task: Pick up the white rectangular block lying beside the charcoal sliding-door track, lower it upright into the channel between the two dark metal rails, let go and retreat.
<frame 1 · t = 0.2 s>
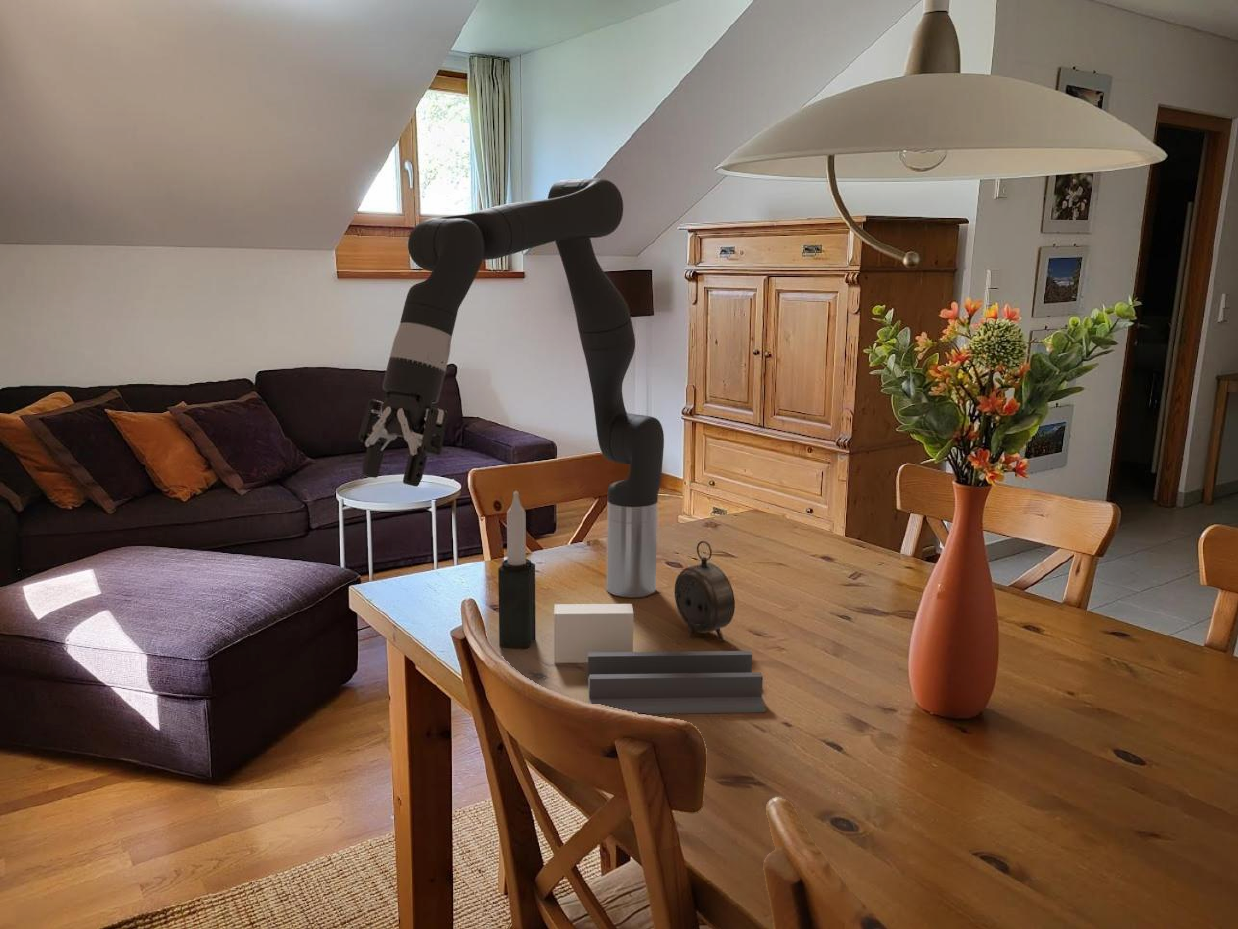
hand: (389, 480, 122), 31 cm above the table, tool tilted 20°, fingers open, 8 cm apart
door track: (672, 690, 132), on the table
alarm clock: (700, 636, 152), on the table
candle: (517, 643, 148), on the table
white rectangular block: (593, 657, 143), on the table
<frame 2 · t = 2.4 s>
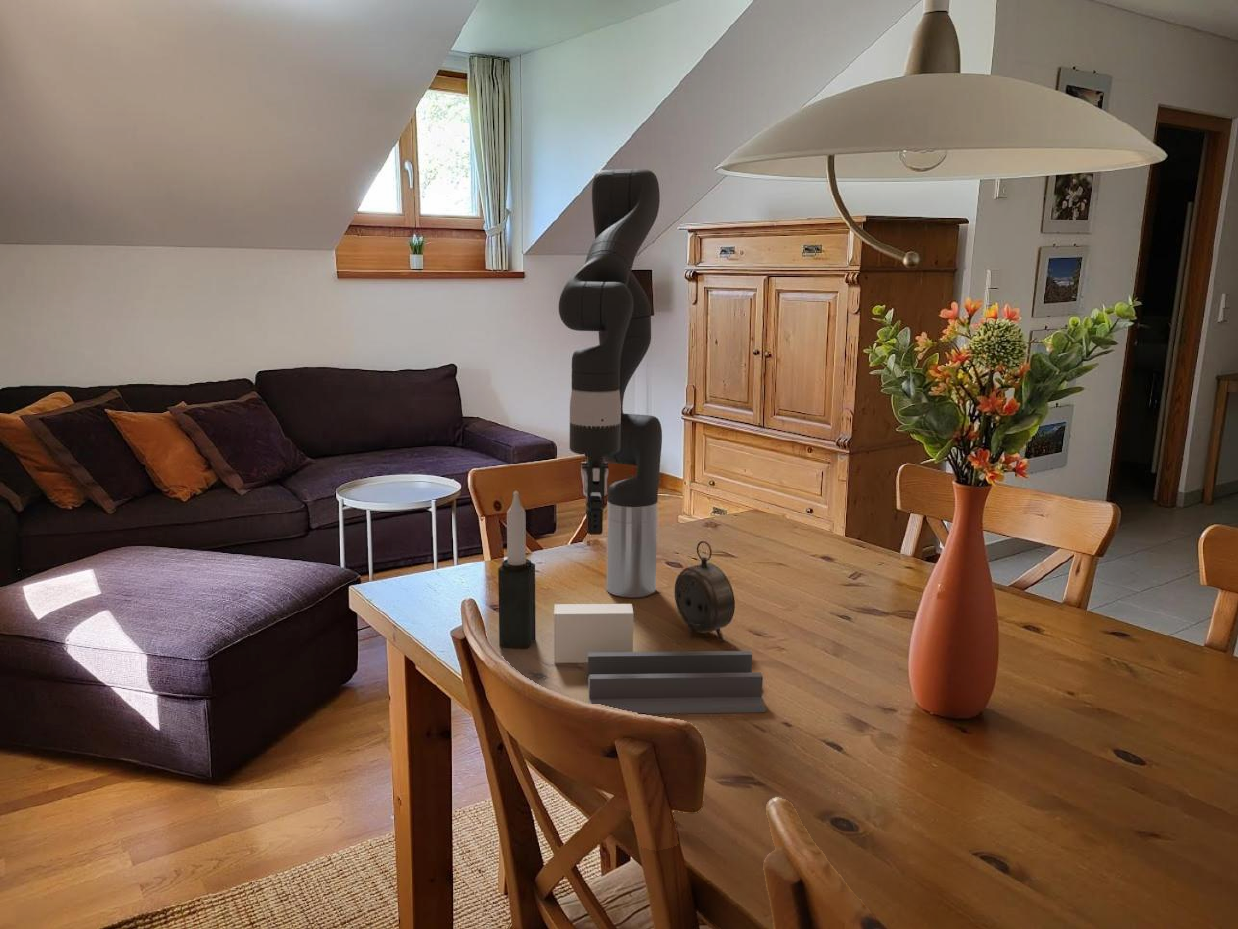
hand: (594, 526, 139), 21 cm above the table, tool pointing down, fingers open, 8 cm apart
nothing on the table moved.
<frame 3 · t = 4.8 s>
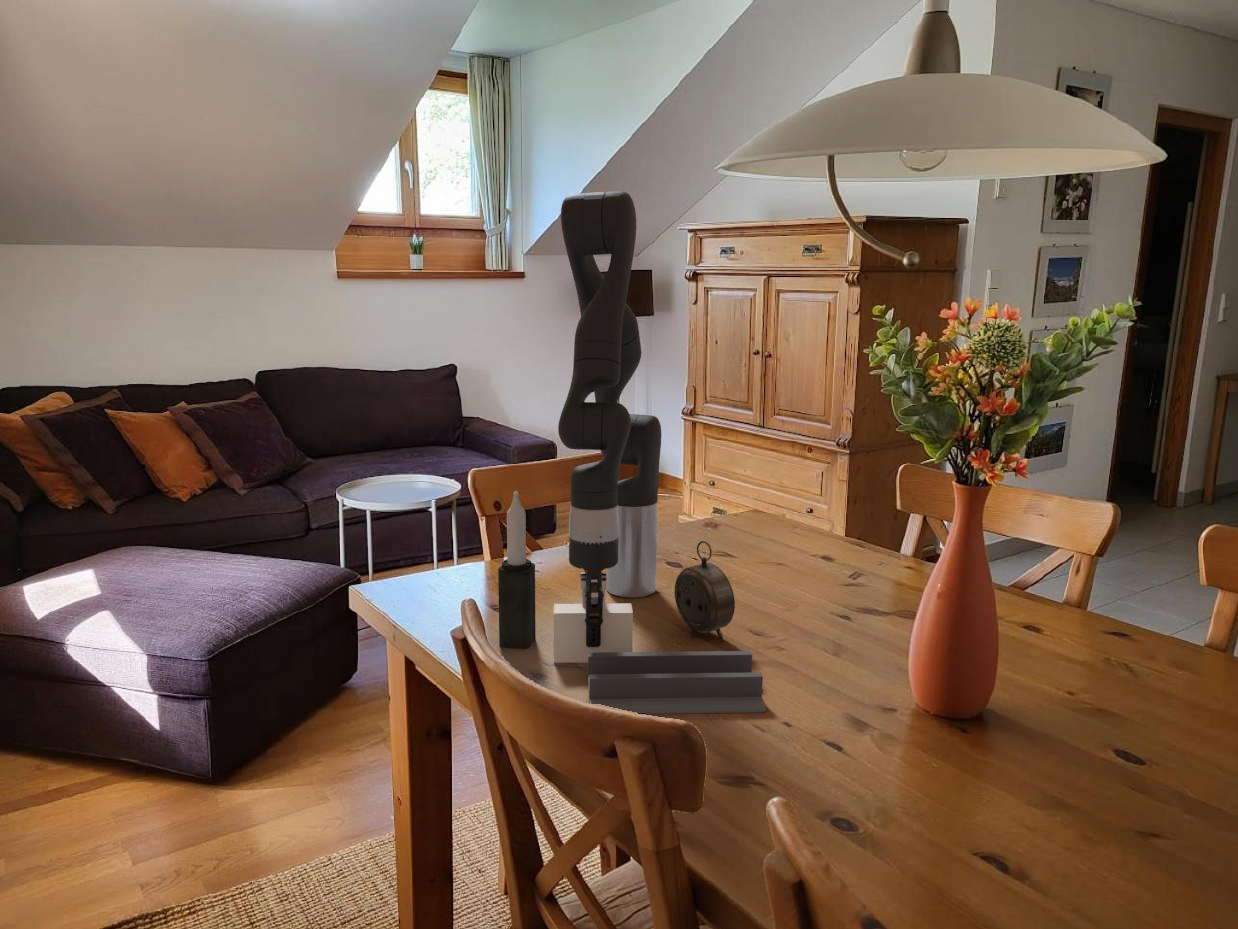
hand: (592, 639, 142), 3 cm above the table, tool pointing down, fingers closed on white rectangular block, 4 cm apart
white rectangular block: (592, 657, 143), on the table, touching gripper
everything else where it was.
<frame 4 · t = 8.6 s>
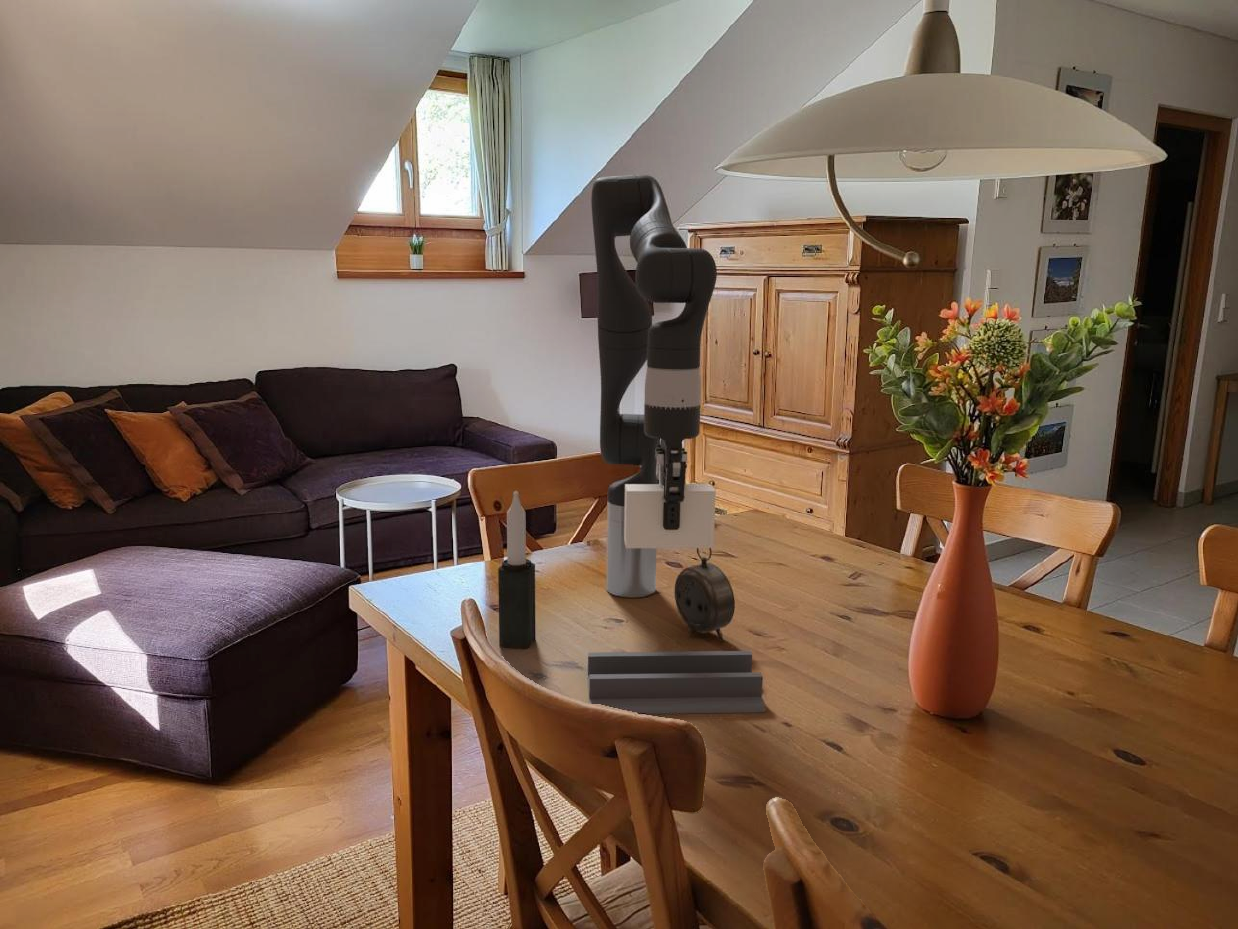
hand: (669, 523, 127), 25 cm above the table, tool pointing down, fingers closed on white rectangular block, 4 cm apart
white rectangular block: (668, 543, 127), point 22 cm above the table, touching gripper
everything else where it was.
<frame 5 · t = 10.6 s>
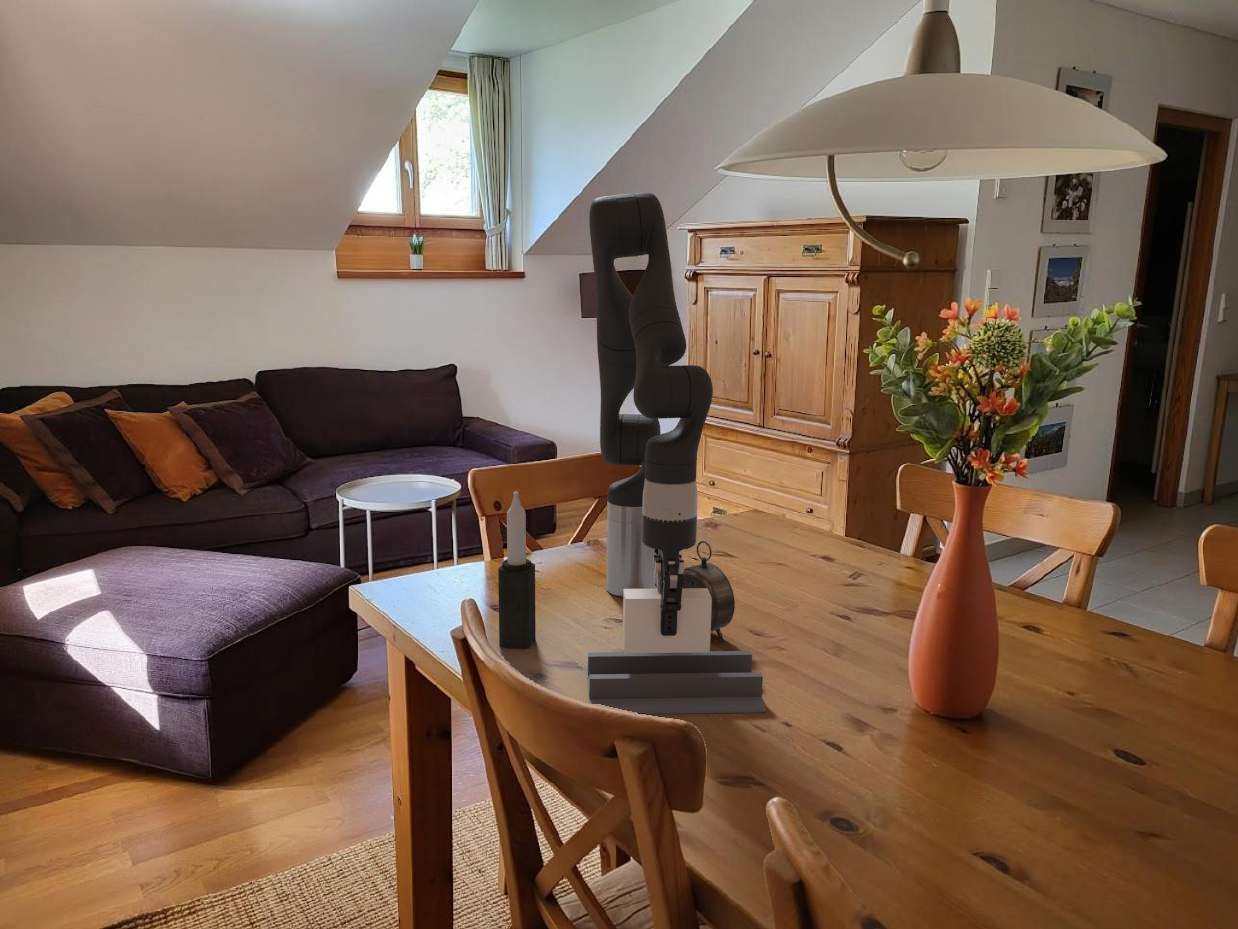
hand: (666, 628, 130), 10 cm above the table, tool pointing down, fingers closed on white rectangular block, 4 cm apart
white rectangular block: (665, 647, 131), point 7 cm above the table, touching gripper
everything else where it was.
when the fingers open (5 cm above the table, at t = 12.3 s): white rectangular block stays where it is, resting on door track.
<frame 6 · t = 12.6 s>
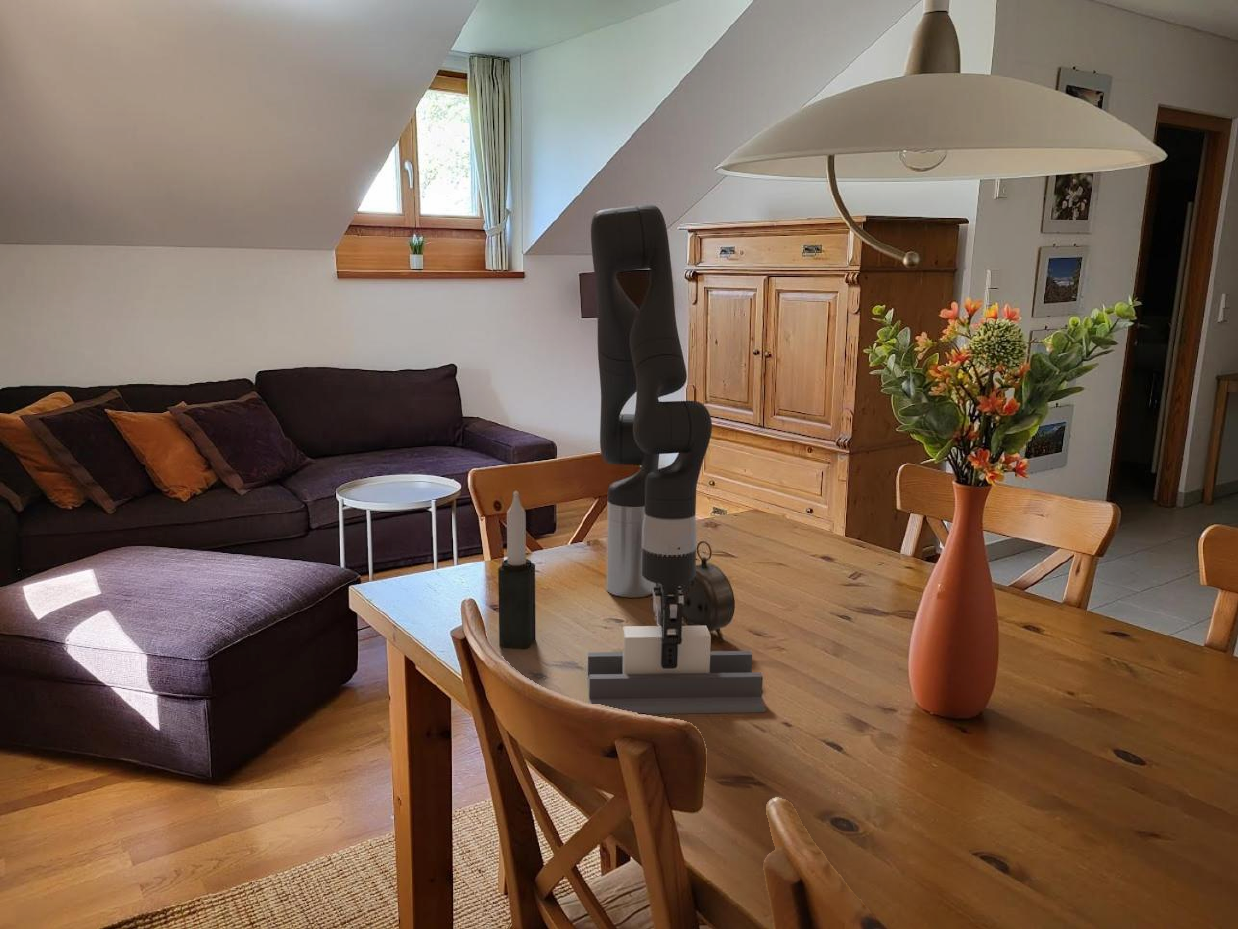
hand: (666, 656, 131), 5 cm above the table, tool pointing down, fingers open, 6 cm apart
white rectangular block: (665, 683, 132), point 1 cm above the table, touching door track
everything else where it was.
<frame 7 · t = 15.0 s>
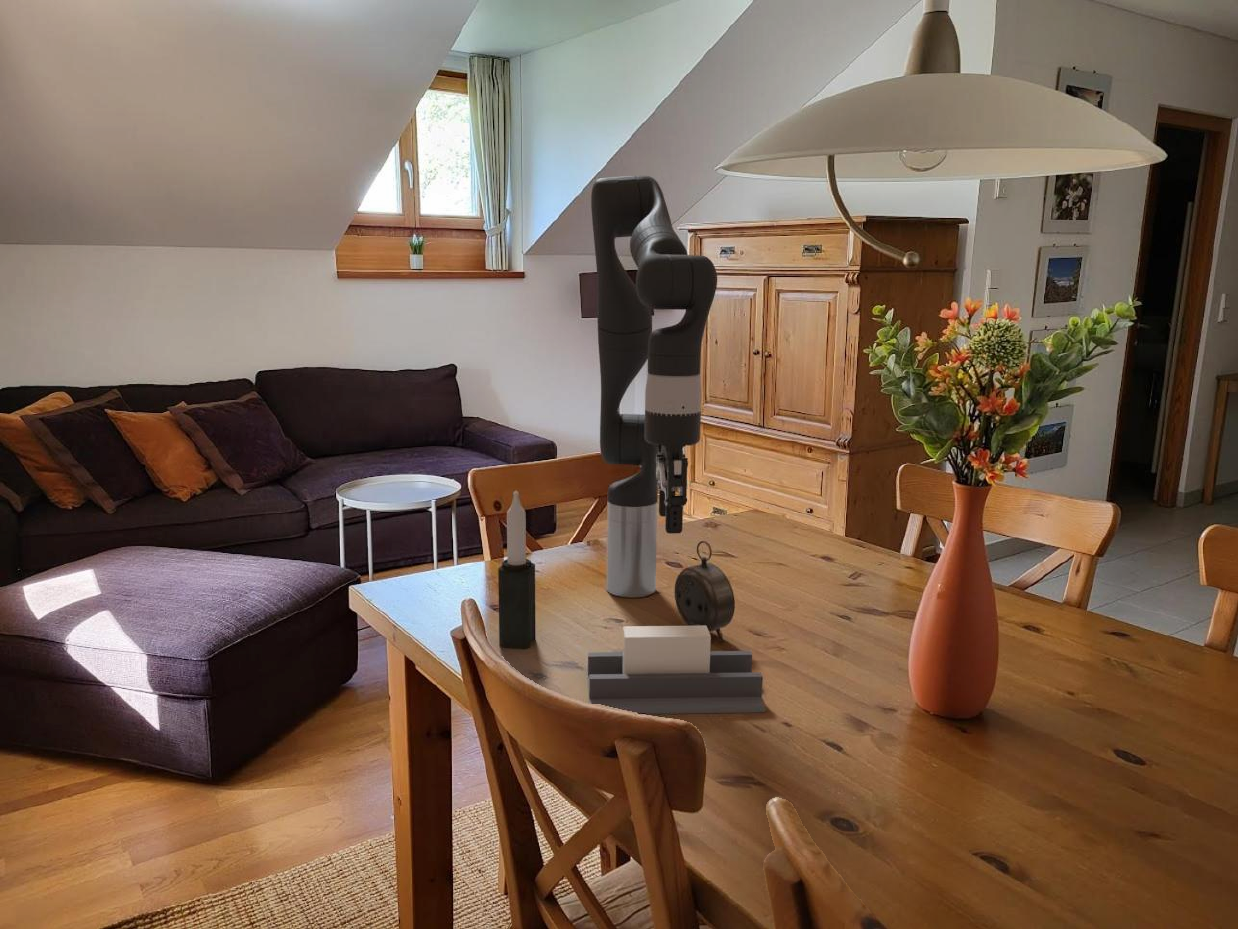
hand: (670, 524, 127), 25 cm above the table, tool pointing down, fingers open, 8 cm apart
nothing on the table moved.
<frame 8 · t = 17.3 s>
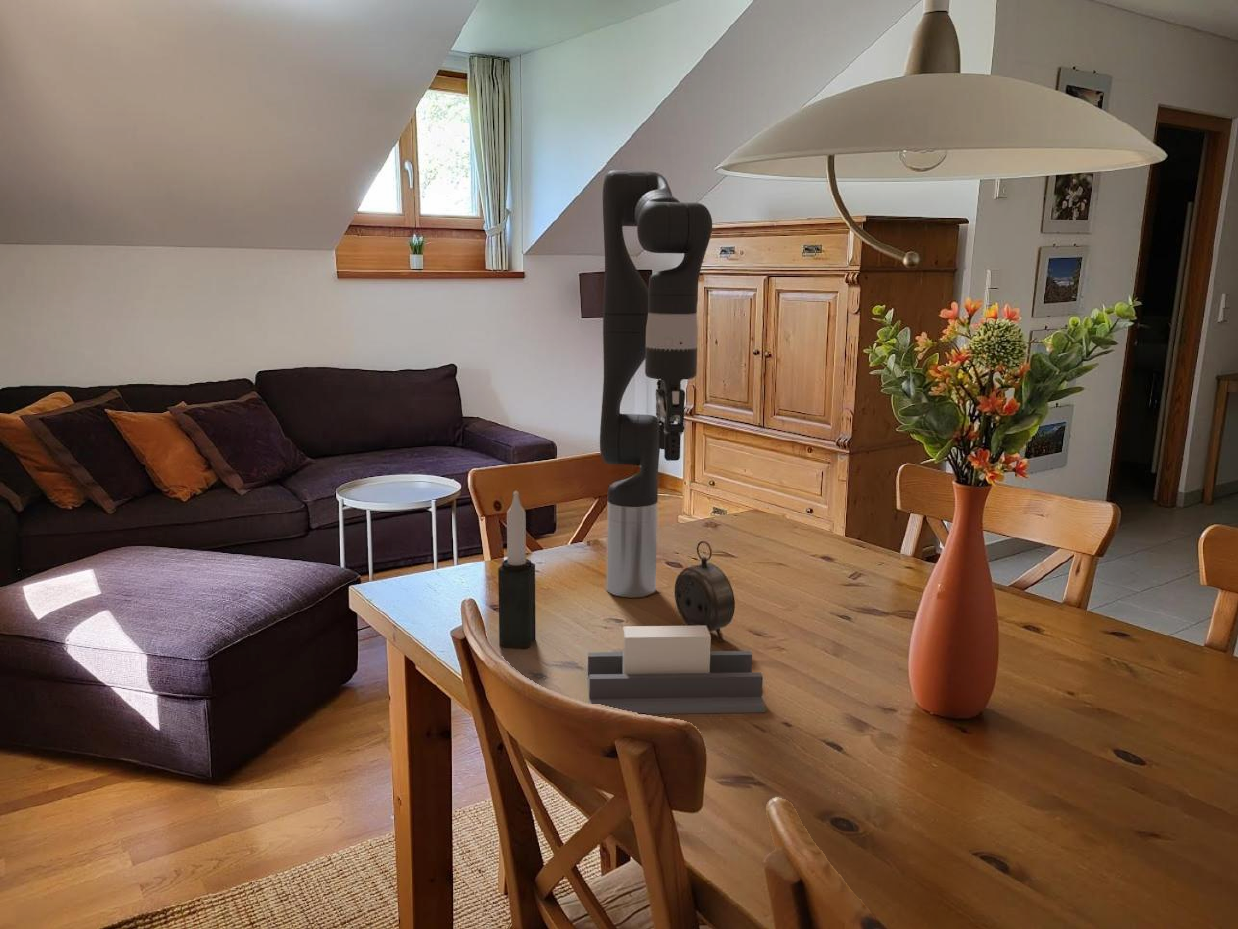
hand: (668, 454, 137), 32 cm above the table, tool pointing down, fingers open, 8 cm apart
nothing on the table moved.
at the end: white rectangular block inside the target area on the door track (1.1 cm from its centre), point 1.0 cm above the door track's base; white rectangular block tilted 0°; the gripper is holding nothing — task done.
